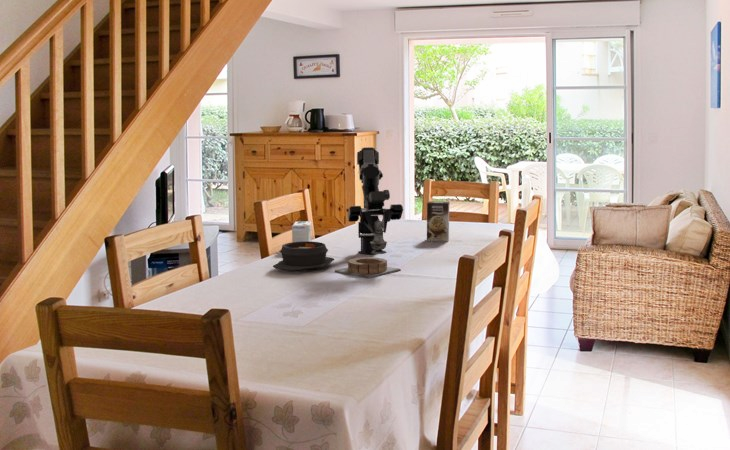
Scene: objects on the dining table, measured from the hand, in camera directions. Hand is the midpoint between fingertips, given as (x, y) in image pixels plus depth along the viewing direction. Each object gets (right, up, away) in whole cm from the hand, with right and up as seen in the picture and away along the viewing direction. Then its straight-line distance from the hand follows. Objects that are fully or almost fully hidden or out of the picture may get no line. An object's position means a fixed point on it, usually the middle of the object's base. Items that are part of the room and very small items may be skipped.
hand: (379, 232), depth 277 cm
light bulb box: (-30, -7, +45) cm, 54 cm away
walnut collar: (-4, -13, +2) cm, 14 cm away
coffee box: (+25, -4, +63) cm, 68 cm away
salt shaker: (0, -7, +2) cm, 8 cm away
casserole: (-26, -13, +9) cm, 31 cm away
